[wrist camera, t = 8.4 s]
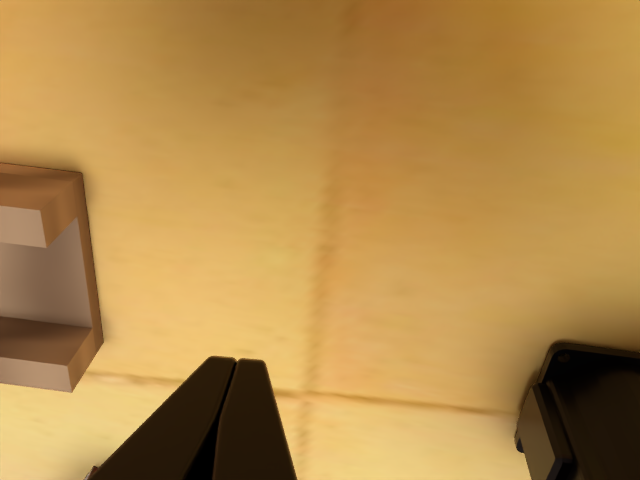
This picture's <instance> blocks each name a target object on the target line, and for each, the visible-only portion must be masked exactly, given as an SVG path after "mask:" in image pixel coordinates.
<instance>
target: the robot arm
mask: <svg viewBox="0 0 640 480" xmlns="http://www.w3.org/2000/svg"><path fill="white" fill-rule="evenodd" d="M561 354H566V355H564V356H559V355H561ZM517 428H518V431H517V434H516V436H515V445H516V448H517V450H518V451H519V452H521V453H524V454H525V458H526V461H527V465H528V468H529V472H530V476H531V479H532V480H640V353H639V352H631V351H624V350H616V349H608V348H600V347H593V346H585V345H577V344H569V343H559V344H555V345H554V346H552V347H551V349H550V350H549V353H548V355H547V358H546V360H545V363H544V365H543V368H542V370H541V373H540V375H539V378H538V380H537V383H534V384H533V385H532V386H531V388H530V390H529V393H528V395H527V398H526V400H525V403H524V406H523V408H522V411H521V413H520V416H519V418H518V421H517ZM87 480H297V477H296V473H295V469H294V466H293V462H292V458H291V455H290V451H289V447H288V444H287V440H286V436H285V433H284V429H283V425H282V422H281V418H280V414H279V411H278V407H277V403H276V400H275V396H274V392H273V389H272V385H271V381H270V378H269V374H268V370H267V367H266V364H265V362H264V361H263V360H257V359H245V358H241V359H239V360H238V361H237V360H236V359H235V358H233V357H222V356H211V357H209V358H207V359H206V360H205V361H204V362H203V363H202V364H201V365H200V366H199V367H198V368H197V369H196V370H195V371H194V372H193V373H192V374H191V375H190V376H189V377H188V378H187V379H186V380H185V381H184V382H183V384H182V385H181V386H180V387H179V388H178V389H177V390H176V391H175V392H174V393H173V394H172V395H171V396H170V397H169V398H168V399H167V400H166V401H165V402H164V403H163V404H162V405H161V406H160V407H159V408H158V409H157V410H156V411H155V412H154V413H153V414H152V415H151V416H150V417H149V418H148V419H147V420H146V421H145V422H144V423H143V424H142V425H141V426H140V427H139V428H138V429H137V430H136V431H135V432H134V433H133V434H132V435H131V436H130V437H129V438H128V439H127V440H126V441H125V442H124V443H123V444H122V445H121V446H120V447H119V448H118V449H117V450H116V451H115V452H114V453H113V454H112V455H111V456H110V457H109V458H108V459H107V460H106V461H105V462H104V463H103V464H102V465H101V466H100V467H99V468H98V469H97V470H96V471H95V472H94V473H93V474H92V475H91V476H90V477H89V478H88V479H87Z"/></svg>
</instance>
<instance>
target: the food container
mask: <svg viewBox="0 0 640 480" xmlns="http://www.w3.org/2000/svg"><path fill="white" fill-rule="evenodd" d="M97 469H98V468H97V467H95V466H93V468H92V469H91V470H90V472H89V473H88V475H87V476H86V477H85V479H84V480H87V479H88V478H89V477H90V476H91V475H92V474H93V473H94V472H95V471H96V470H97Z"/></svg>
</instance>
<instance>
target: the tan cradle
mask: <svg viewBox="0 0 640 480" xmlns="http://www.w3.org/2000/svg"><path fill="white" fill-rule="evenodd" d="M102 344H103V335H102V327H101V319H100V311H99V303H98V296H97V288H96V280H95V272H94V264H93V256H92V249H91V241H90V233H89V225H88V217H87V209H86V202H85V194H84V186H83V178H82V173H78V172H70V171H62V170H53V169H45V168H37V167H29V166H21V165H13V164H5V163H0V383H3V384H10V385H18V386H25V387H33V388H40V389H48V390H55V391H63V392H70V393H72V392H73V390H74V389H75V387H76V385H77V384H78V382H79V381H80V379H81V377H82V376H83V374H84V373H85V371H86V369H87V368H88V366H89V365H90V363H91V361H92V360H93V358H94V357H95V355H96V353H97V352H98V350H99V349H100V347H101V346H102Z"/></svg>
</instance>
